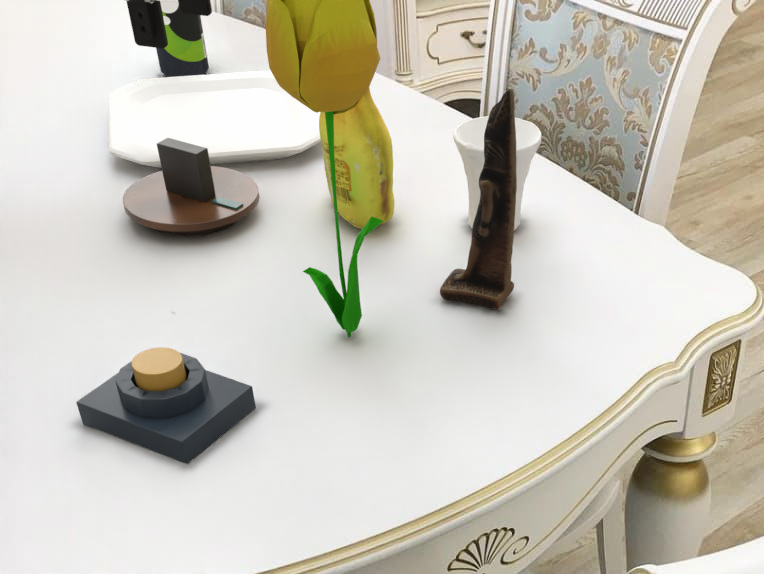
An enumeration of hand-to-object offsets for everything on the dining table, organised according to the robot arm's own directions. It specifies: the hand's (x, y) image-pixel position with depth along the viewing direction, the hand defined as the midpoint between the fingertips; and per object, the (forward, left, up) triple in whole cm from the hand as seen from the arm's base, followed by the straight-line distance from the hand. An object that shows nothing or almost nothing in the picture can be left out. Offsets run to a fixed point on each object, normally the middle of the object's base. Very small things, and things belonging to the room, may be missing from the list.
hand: (175, 29), depth 109 cm
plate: (-10, +15, -17) cm, 25 cm away
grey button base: (+24, -34, -17) cm, 45 cm away
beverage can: (-25, +27, -17) cm, 41 cm away
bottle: (+17, +5, -17) cm, 24 cm away
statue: (+37, -4, -17) cm, 41 cm away
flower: (+30, -16, -17) cm, 38 cm away
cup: (+31, +10, -17) cm, 37 cm away
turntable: (+2, -4, -15) cm, 16 cm away
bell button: (+24, -34, -13) cm, 44 cm away
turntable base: (+2, -4, -17) cm, 17 cm away
